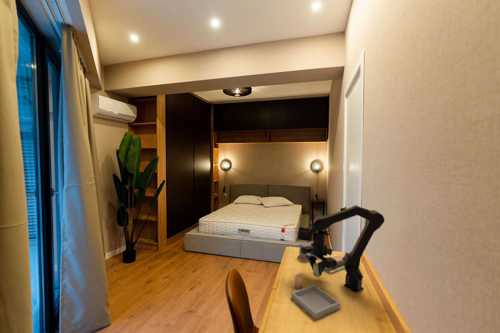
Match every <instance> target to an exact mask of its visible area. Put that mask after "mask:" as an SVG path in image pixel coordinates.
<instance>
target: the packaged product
mask: <svg viewBox="0 0 500 333" xmlns="http://www.w3.org/2000/svg"><path fill="white" fill-rule="evenodd" d="M330 257H331V256H330ZM343 257H344V256H339V255H336V256H332V257H331V258H333V259H335V260H336V261H337V266H335V267H332V268H327V267H325V268H324V270H323V272H326V273H327V274H330V275H333V274H336V273H339V272H340V271H344V270H345V267H344V264H343Z"/></svg>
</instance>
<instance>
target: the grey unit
mask: <svg viewBox="0 0 500 333" xmlns="http://www.w3.org/2000/svg"><path fill="white" fill-rule="evenodd" d="M311 243H313V240H312V241H306V242H302V243H299V253H298V254H299V255H297V257H296V259H297V260H299V261H301V262H303V263H308V262H309V260H308V258H307V257H306V255H307V253H306V254H303V253H301V249H302V247H306V246H310V247H312V248H313V246H311ZM316 260H319V259H318V258H317V259H316Z"/></svg>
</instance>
